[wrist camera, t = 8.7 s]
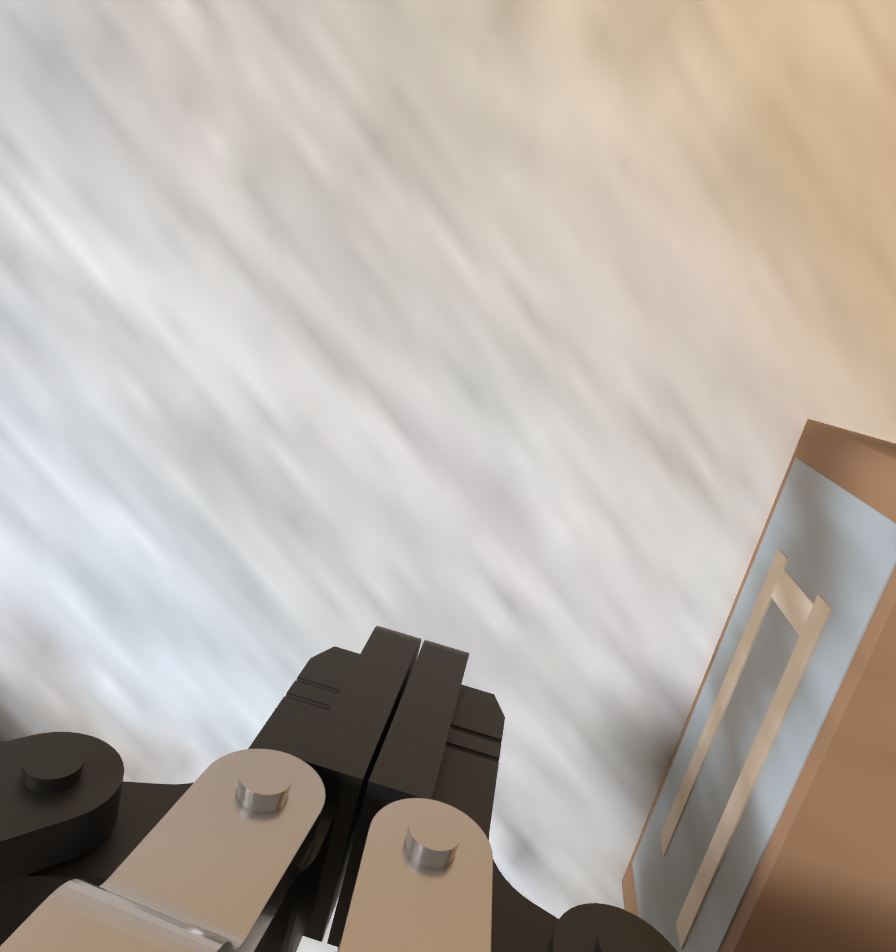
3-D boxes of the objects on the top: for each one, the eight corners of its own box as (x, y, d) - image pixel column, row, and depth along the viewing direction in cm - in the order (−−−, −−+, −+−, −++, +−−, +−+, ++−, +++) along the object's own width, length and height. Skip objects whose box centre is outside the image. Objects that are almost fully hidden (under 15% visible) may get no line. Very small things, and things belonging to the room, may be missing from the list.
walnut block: (851, 1208, 13) (1224, 564, 10) (644, 1133, 13) (943, 484, 10) (760, 924, 18) (975, 466, 15) (618, 876, 19) (802, 416, 16)
